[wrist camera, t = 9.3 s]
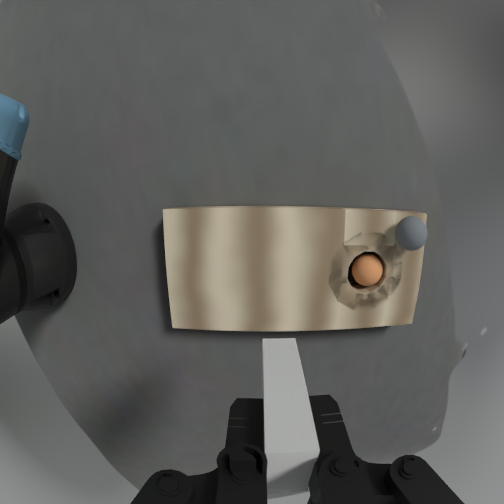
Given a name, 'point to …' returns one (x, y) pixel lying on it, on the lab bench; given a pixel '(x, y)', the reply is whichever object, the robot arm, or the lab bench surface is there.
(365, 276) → the ball
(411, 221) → the grey ball
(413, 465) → the robot arm
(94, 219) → the lab bench surface
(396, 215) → the board
